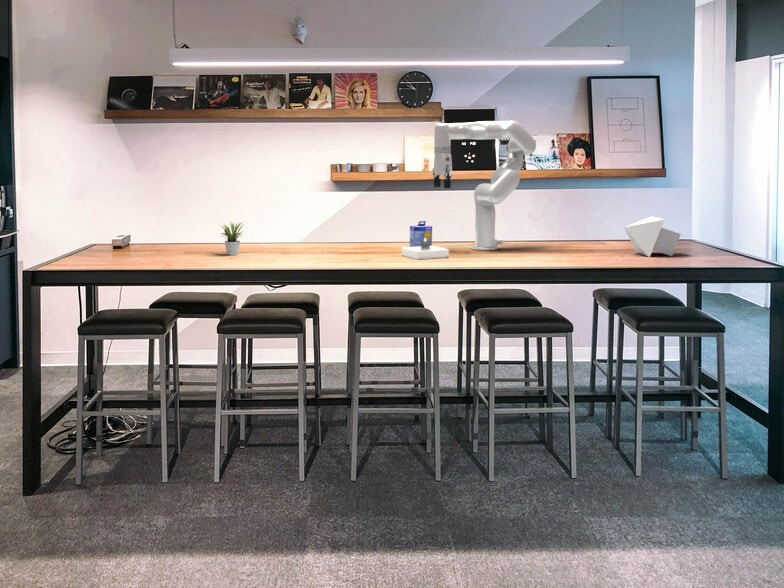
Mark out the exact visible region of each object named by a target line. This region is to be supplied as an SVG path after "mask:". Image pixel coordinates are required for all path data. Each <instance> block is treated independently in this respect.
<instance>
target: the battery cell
mask: <svg viewBox="0 0 784 588" xmlns="http://www.w3.org/2000/svg"><path fill="white" fill-rule="evenodd" d="M428 250H430V240H428V239H427V238H424V239H422V240H421V251H428Z"/></svg>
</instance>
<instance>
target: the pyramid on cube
mask: <svg viewBox="0 0 784 588" xmlns="http://www.w3.org/2000/svg"><path fill="white" fill-rule="evenodd" d="M664 222H665V219H664V218H660V217H657V216H656V217H655V216H653V215H651V216H649V217H646V218H644V219H641V220H639V221H636V222H634V223H633V222H632V223H631V224H629V225H628V224H627V225H626V226H623V228H624V230H625V232H626V234H627V236H628V238H629V240H630V242H631V244H632V246H633V248H634V250H635V252H636V253H637V254H640V255H643V256H645V257H647V256H648V258H650V257H651V255H652V252H653V251H656V252H659V253H661V254H664V255H667V256H669V257H672V256H673V255H674V252H675V250H676V247H677V245H678V242H679V239H680V238H681V235H682V234H681V233H679V232H675V231H673V230H671V229H666V228H663V225H664Z"/></svg>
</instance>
